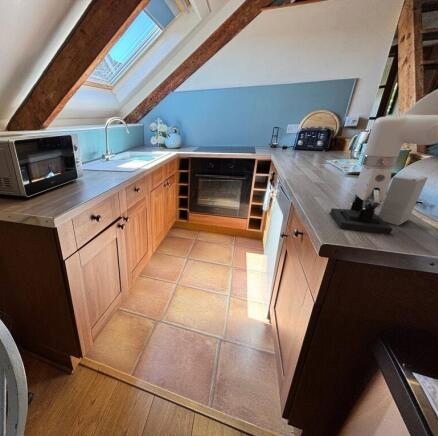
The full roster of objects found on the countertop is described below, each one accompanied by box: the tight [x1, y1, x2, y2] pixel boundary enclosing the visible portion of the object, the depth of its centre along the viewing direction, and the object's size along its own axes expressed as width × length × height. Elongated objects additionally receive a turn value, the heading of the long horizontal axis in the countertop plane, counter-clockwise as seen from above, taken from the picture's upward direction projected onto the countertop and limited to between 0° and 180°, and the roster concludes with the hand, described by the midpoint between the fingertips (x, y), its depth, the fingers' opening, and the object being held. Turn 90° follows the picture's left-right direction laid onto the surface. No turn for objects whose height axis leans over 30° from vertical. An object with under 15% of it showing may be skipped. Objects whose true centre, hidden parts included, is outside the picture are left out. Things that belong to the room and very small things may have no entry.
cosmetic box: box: [377, 173, 429, 226], centre depth 78 cm, size 8×6×15 cm
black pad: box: [342, 208, 378, 224], centre depth 78 cm, size 7×7×2 cm
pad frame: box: [329, 207, 393, 235], centre depth 79 cm, size 12×14×2 cm
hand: (359, 217), depth 78 cm, fingers closed on black pad, 7 cm apart
